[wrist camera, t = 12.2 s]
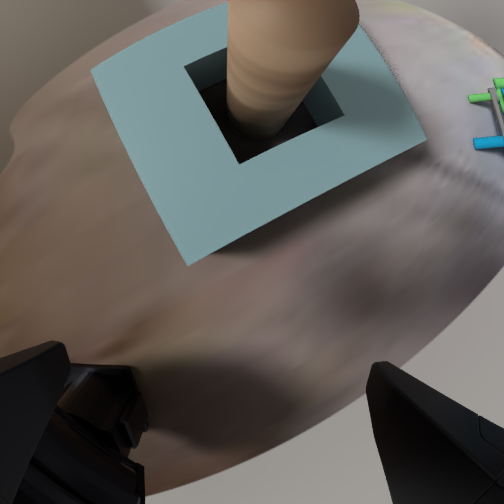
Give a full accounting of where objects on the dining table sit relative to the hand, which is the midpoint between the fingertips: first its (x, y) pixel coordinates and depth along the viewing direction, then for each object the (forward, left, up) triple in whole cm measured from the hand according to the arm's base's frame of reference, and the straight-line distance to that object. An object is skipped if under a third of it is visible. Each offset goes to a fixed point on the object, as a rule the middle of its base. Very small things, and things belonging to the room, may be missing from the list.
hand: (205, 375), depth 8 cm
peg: (+3, +11, -13) cm, 17 cm away
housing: (+3, +11, -13) cm, 17 cm away
